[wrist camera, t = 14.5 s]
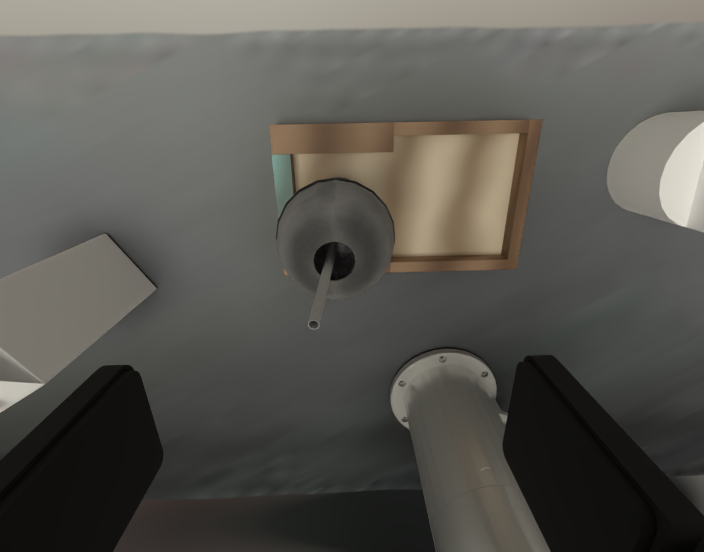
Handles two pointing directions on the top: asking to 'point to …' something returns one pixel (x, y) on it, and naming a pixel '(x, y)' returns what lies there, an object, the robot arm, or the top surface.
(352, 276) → the beverage cup
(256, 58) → the top surface
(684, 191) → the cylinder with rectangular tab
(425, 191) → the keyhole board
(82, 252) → the milk carton
